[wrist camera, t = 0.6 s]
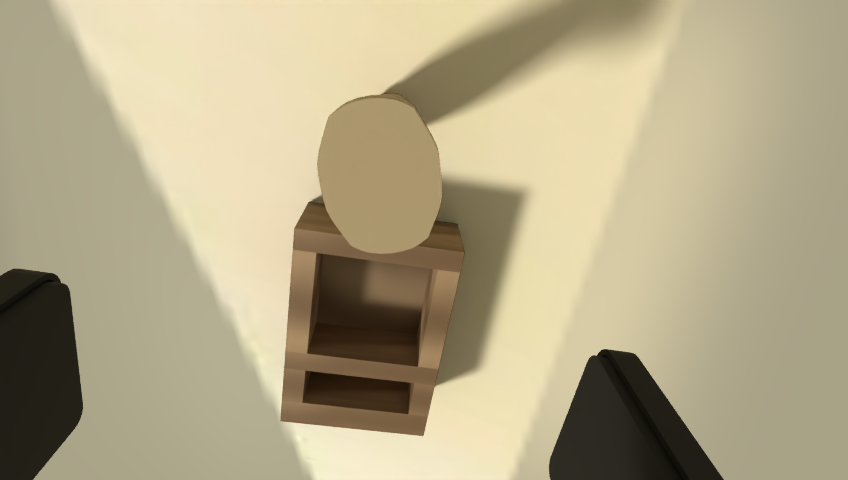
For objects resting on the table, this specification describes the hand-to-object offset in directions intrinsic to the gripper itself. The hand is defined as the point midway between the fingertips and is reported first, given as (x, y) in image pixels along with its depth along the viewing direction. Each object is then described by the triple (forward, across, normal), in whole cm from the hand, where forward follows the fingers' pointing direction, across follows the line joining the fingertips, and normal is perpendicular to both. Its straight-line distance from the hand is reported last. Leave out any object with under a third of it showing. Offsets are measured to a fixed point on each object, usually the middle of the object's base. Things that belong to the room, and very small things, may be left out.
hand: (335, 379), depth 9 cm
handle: (+27, 0, 0) cm, 27 cm away
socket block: (+27, -1, +15) cm, 30 cm away
